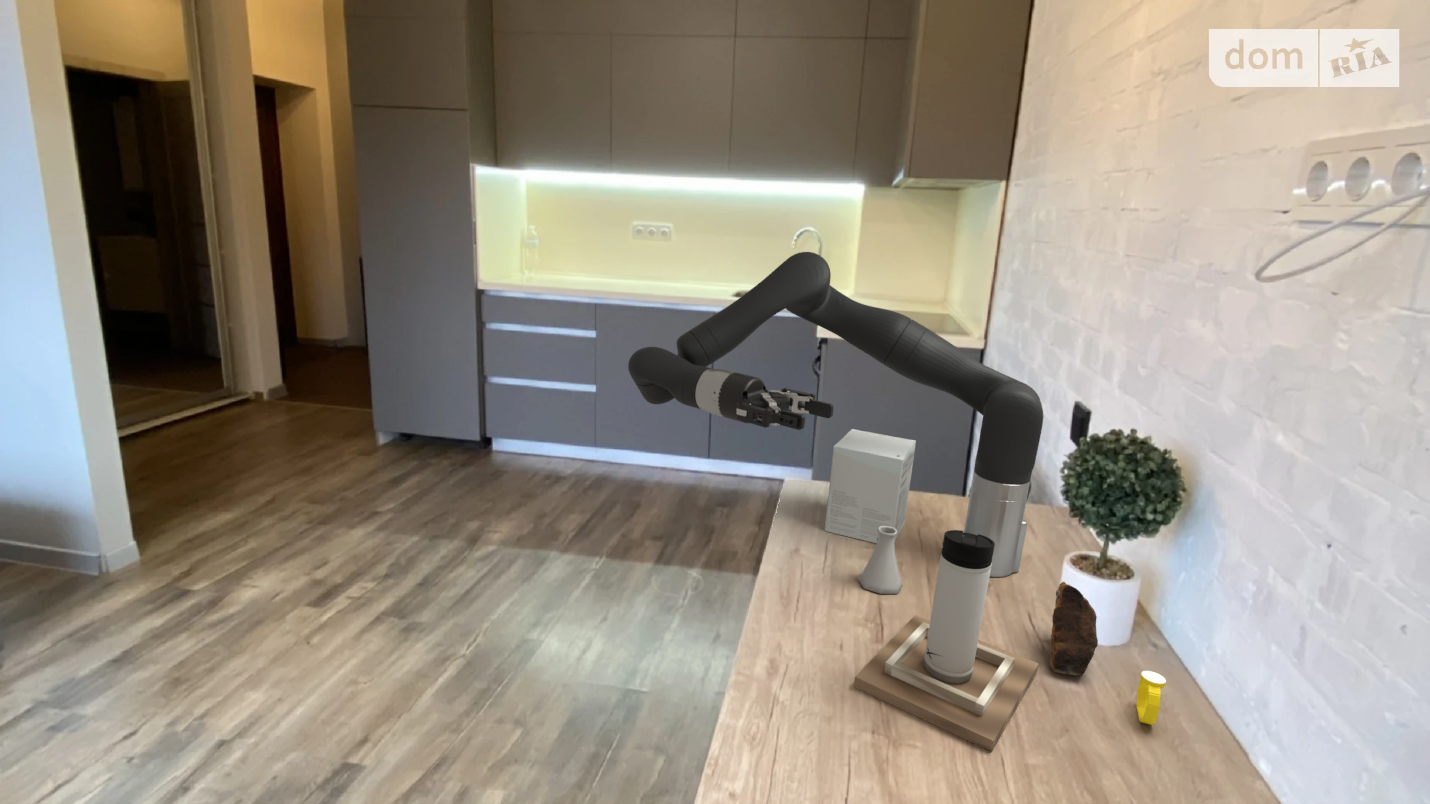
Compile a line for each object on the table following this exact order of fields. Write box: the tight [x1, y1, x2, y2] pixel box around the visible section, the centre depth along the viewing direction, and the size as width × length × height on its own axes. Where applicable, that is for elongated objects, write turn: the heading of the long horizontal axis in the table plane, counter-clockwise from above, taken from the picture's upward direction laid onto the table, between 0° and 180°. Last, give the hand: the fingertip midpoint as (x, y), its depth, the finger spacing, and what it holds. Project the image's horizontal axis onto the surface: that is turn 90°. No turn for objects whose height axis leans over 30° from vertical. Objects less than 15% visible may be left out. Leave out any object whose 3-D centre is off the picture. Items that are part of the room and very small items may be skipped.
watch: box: [1135, 670, 1167, 726], centre depth 95 cm, size 6×3×6 cm, turn 158°
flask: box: [858, 526, 903, 595], centre depth 123 cm, size 7×7×10 cm
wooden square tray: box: [853, 614, 1040, 753], centre depth 100 cm, size 20×18×3 cm
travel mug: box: [924, 529, 995, 684], centre depth 97 cm, size 6×7×20 cm
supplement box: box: [824, 428, 917, 544], centre depth 144 cm, size 13×13×18 cm
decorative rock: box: [1049, 581, 1099, 677], centre depth 106 cm, size 12×6×11 cm, turn 155°
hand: (818, 417), depth 111 cm, fingers open, 8 cm apart
